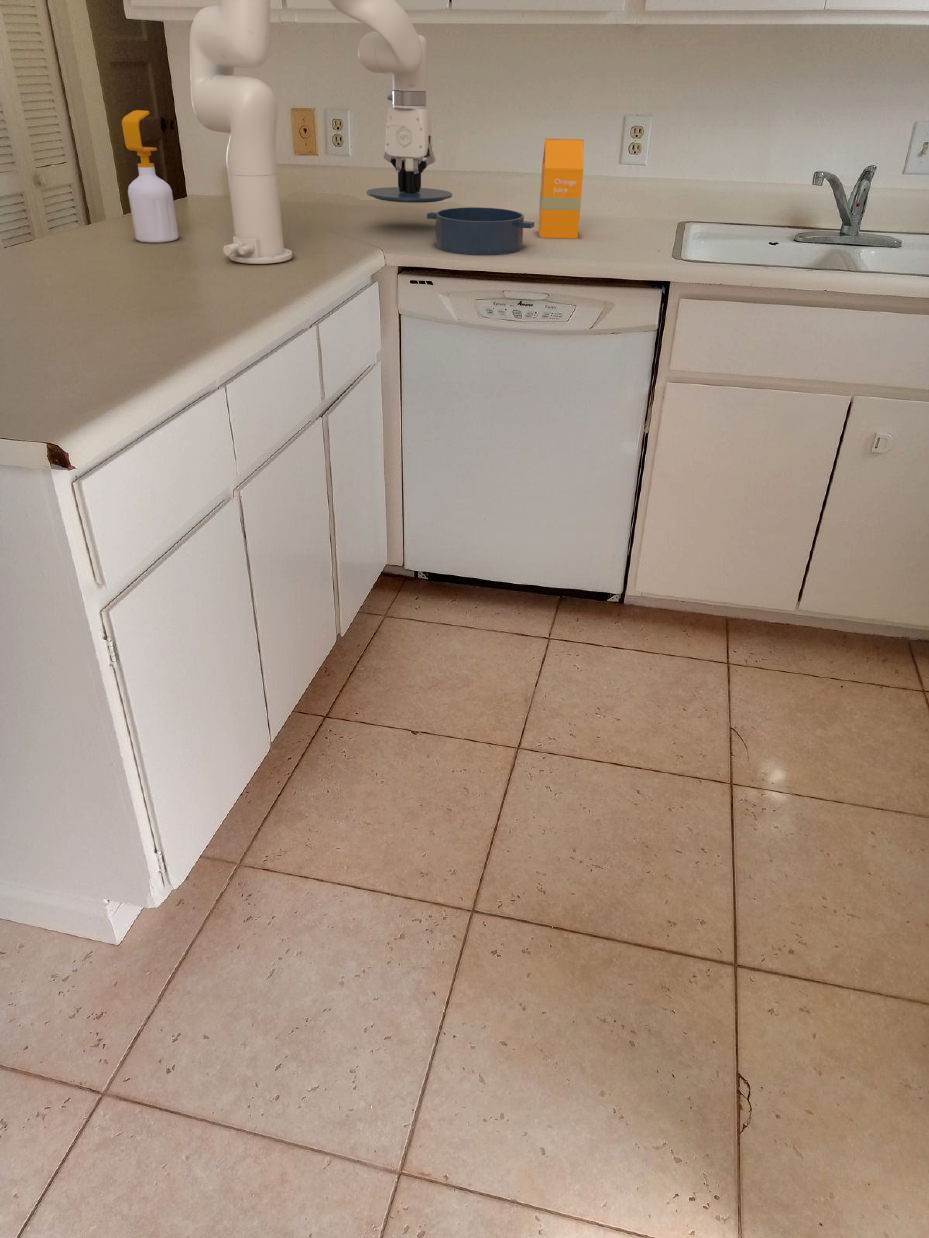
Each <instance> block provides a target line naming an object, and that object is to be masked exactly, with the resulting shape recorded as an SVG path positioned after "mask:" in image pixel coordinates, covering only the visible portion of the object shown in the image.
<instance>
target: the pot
mask: <svg viewBox="0 0 929 1238" xmlns="http://www.w3.org/2000/svg"><path fill="white" fill-rule="evenodd" d="M426 219H427V220H435V247H436V248H438V249H439V250H441V251H444V252H447V253H448V252H449V253H453V254H461V255H470V256H471V255H472V256H474V255H475V256H496V255H506V254H512V253H516V252H519V251H521V250H522V248H523V244H524V243H523V242H524V229H532V228H535V221H530V220H525V215H524V214H523V213H522V212H519V211H516V210H511V209H506V208H505V209H504V208H497V207H482V206H481V207H478V206H477V207H473V206H472V207H470V206H469V207H467V206H465V207H454V208H453V207H452V208H445V209H440V210H438V211H436V212H433V211H432V212H428V213H426Z"/></svg>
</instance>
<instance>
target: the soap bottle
mask: <svg viewBox="0 0 929 1238" xmlns="http://www.w3.org/2000/svg"><path fill="white" fill-rule="evenodd" d="M150 114H151V113H150V111H149V110H140V109H136V110H133V111H131V112H129V113H128V114H126V115H125V116H124V117H123V118H122V120H121V127H122V132H123V138H124V144H125V145H124V146H125V147H126V149H127V150H128V151H131V152H132V151H134V152H136V155H137V156H138V157H140V162H139V163H137V170H138V176H137V177H136V178H135V179H134V180H132V181H131V183H130V184H128V188H127V196H128V203H129V207H130V213H131V219H132V226H133V231H134V236H135V240H136V241H138V242H141V243H146V244H147V243H149V244H161V243H169V242H170V243H171V242H174V241H177V240H178V239H179V231H178V223H177V216H176V210H175V202H174V196H173V189H172V188H171V186H170V184H168V183H167V182H166V181H165V180H163V179H162V178H160V177H159V176H157V174H156V169H155V163H153V162H150V156H152V153H151V152H153V151H154V152H155V151H158V148H157V147H151V146H143V144H142V136H141V132H140V131H141V130H140V122H141V120H143V119H144V118H146V117H147V116H149V115H150Z"/></svg>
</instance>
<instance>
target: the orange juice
mask: <svg viewBox="0 0 929 1238" xmlns="http://www.w3.org/2000/svg"><path fill="white" fill-rule="evenodd" d="M540 176H541V177H540V178H541V179H540V193H539V209H538V225H537V226H538V228H537V232H538V235H539V237H540V238H541V239H543V238H545V239H547V238H549V239H578V237H579V227H580V217H581V216H580V214H581V205H582V190H583V178H584V139H583V138H582V139H580V138H579V139H578V138H576V139H575V138H544V147H543V156H542V164H541V175H540Z"/></svg>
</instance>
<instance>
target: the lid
mask: <svg viewBox="0 0 929 1238" xmlns="http://www.w3.org/2000/svg"><path fill="white" fill-rule="evenodd" d="M412 174H413V170H407V169H406V171H404V192H400V191H399V187H398V186H389V187H388V186H387V187H377V188H376V187H375V188H371V189H367V190H366V193H365V194H366V195H367V196H369V197H372V198H374V199H376V200H379V201H385V202H392V203H409V204H410V203H414V204H415V203H416V204H423V203H438V202H443V201H445V200H447V199H448V200H449V199H451V198H453V193H452V192H451V191H448V190H444V189H439V188H430V187H429V188H428V187H421V188H420V191H419V192H417V193H412V192H411V175H412Z"/></svg>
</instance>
